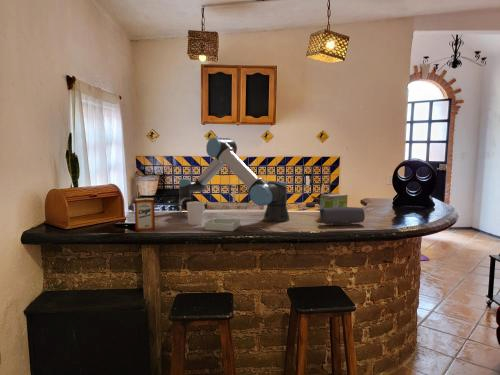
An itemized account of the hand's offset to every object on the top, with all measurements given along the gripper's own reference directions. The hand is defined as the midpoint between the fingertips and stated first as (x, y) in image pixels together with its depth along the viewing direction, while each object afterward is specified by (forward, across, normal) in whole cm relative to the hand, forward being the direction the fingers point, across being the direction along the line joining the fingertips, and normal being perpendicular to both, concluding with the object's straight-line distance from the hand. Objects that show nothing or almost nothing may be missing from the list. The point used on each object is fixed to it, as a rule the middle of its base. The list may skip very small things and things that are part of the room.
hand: (192, 209), depth 209 cm
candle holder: (+9, 0, -7) cm, 11 cm away
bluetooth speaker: (+36, -78, -7) cm, 86 cm away
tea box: (+16, -84, -7) cm, 86 cm away
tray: (+23, -12, -7) cm, 27 cm away
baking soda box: (+15, +27, -7) cm, 32 cm away
